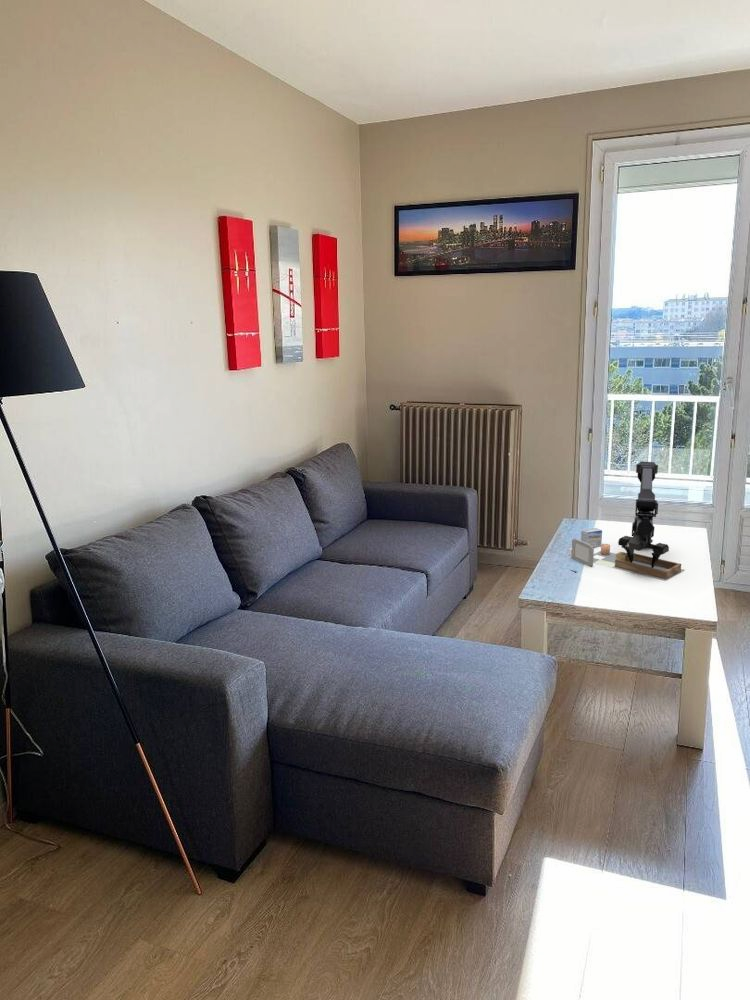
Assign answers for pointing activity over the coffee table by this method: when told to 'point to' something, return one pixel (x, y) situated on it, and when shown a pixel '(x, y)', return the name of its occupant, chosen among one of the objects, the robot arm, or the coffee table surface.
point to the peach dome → (605, 549)
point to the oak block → (622, 556)
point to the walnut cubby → (671, 566)
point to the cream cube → (570, 551)
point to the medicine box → (592, 537)
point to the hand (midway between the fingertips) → (641, 565)
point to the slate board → (610, 562)
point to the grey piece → (582, 552)
